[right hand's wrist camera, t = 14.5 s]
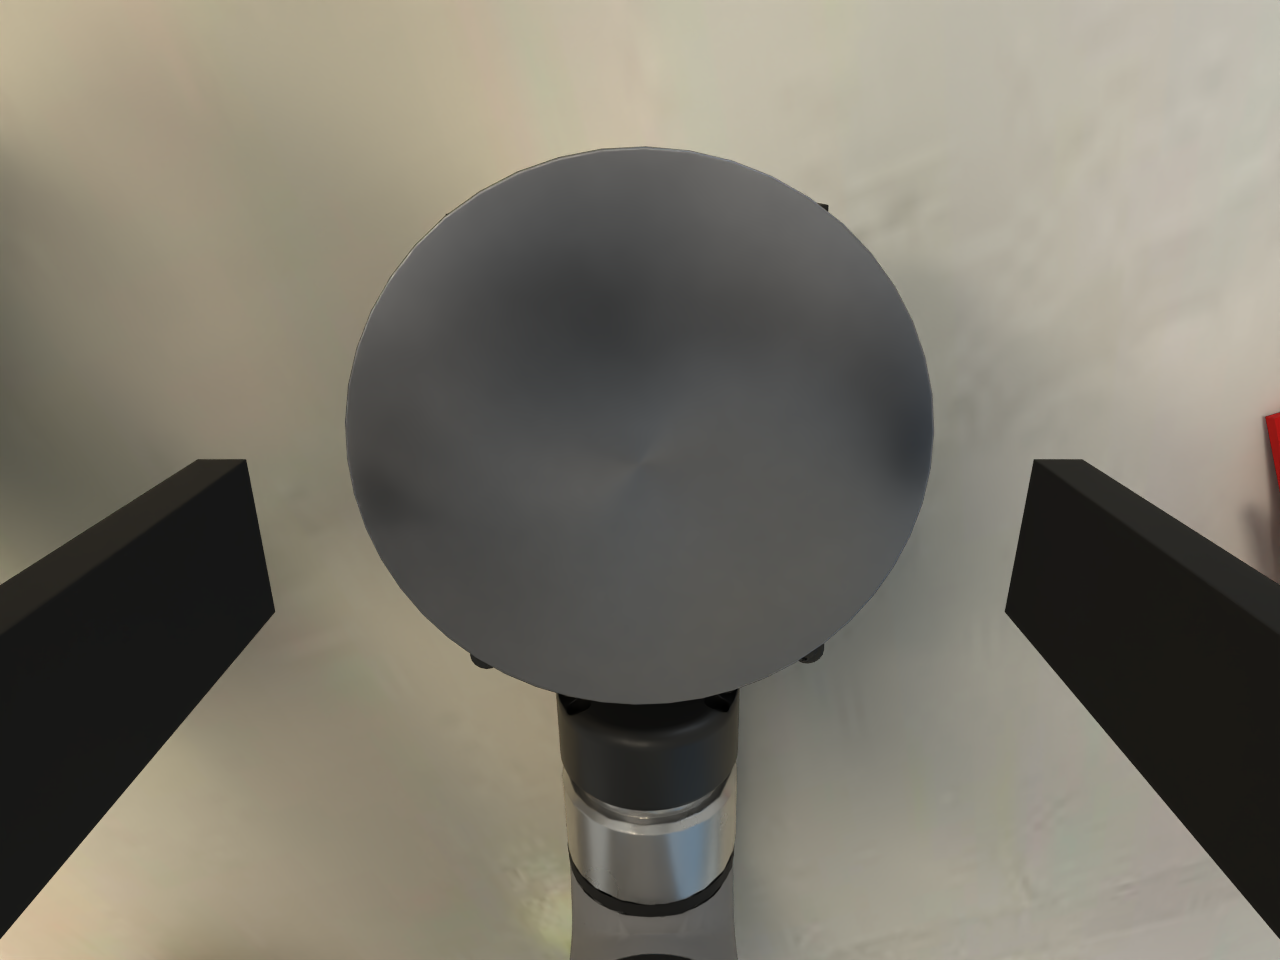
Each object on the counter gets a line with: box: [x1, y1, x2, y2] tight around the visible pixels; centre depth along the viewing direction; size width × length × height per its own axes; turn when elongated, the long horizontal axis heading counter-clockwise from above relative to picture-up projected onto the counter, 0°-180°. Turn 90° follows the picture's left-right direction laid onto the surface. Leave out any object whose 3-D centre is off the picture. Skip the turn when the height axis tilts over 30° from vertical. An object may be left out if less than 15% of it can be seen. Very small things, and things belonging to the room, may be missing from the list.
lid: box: [345, 146, 934, 705], centre depth 16 cm, size 11×11×2 cm
